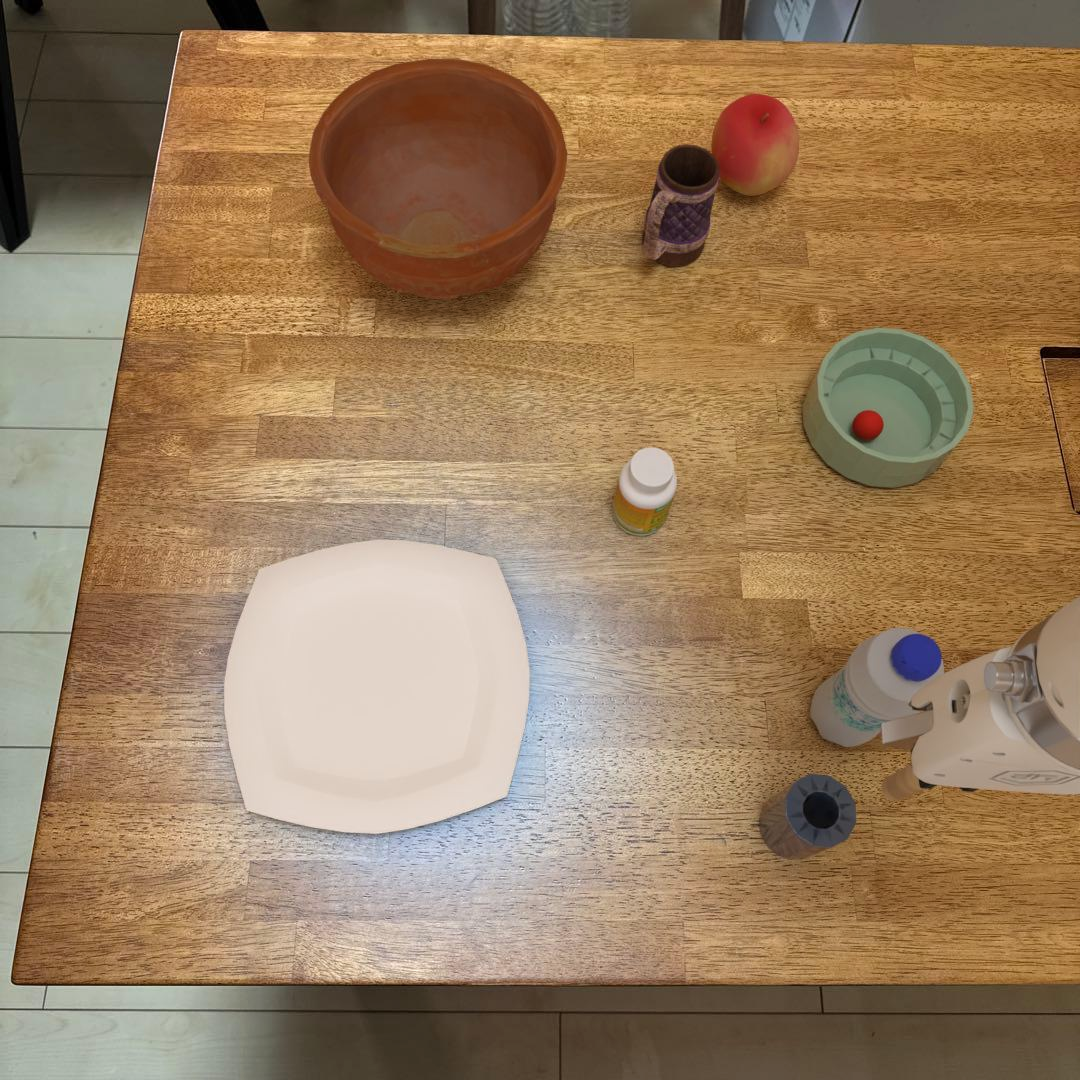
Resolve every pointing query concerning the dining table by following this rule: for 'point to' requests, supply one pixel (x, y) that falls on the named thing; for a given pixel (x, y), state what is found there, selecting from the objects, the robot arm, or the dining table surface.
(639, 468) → the supplement bottle
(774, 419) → the dining table surface
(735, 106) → the apple
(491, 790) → the plate
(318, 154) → the bowl
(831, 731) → the bottle
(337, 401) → the dining table surface
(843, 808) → the holder
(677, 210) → the mug
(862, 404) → the green round dish
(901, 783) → the stick
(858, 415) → the red ball
